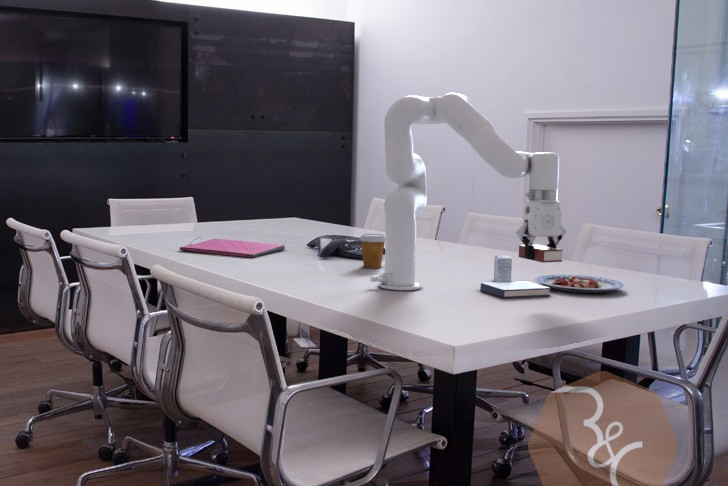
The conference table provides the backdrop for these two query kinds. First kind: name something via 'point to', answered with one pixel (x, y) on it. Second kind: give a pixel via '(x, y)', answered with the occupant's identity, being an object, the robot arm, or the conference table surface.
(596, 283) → the ceramic plate
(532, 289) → the hardback
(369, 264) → the disposable coffee cup
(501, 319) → the conference table surface
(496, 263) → the medicine box
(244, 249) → the laptop bag
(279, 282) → the conference table surface
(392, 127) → the robot arm
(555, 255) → the paperback
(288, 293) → the conference table surface
